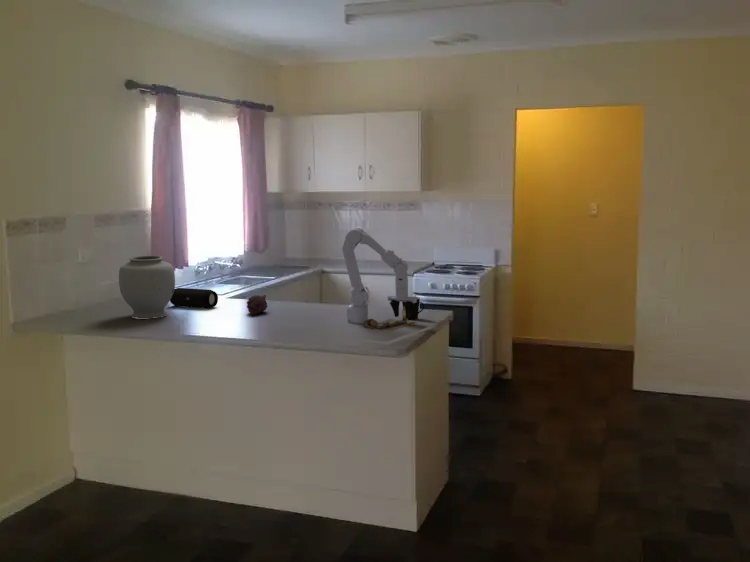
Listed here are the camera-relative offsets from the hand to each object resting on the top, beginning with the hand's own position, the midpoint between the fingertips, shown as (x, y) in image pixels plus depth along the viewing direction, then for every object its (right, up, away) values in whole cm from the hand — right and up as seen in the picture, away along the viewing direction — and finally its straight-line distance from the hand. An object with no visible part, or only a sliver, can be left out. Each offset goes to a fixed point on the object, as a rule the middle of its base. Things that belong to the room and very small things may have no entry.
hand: (402, 317), depth 339 cm
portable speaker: (-109, +2, +57) cm, 123 cm away
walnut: (-13, -4, -8) cm, 16 cm away
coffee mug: (+5, -2, +13) cm, 14 cm away
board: (-4, -4, -4) cm, 7 cm away
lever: (-4, -3, -6) cm, 8 cm away
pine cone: (-72, 0, +36) cm, 81 cm away
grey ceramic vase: (-126, -1, +34) cm, 130 cm away
